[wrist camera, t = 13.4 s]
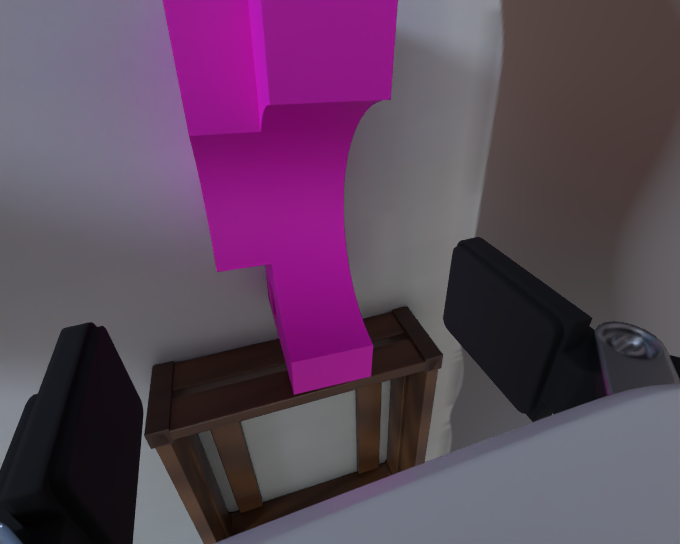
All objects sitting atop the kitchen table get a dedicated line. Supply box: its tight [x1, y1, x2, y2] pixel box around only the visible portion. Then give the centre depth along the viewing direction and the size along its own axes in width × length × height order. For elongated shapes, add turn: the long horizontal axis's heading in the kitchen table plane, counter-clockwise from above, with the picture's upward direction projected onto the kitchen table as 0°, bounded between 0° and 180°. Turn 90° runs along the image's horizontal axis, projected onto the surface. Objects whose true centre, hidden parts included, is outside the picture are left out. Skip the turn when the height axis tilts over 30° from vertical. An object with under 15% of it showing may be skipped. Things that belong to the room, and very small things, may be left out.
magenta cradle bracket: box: [163, 0, 398, 395], centre depth 17 cm, size 15×6×8 cm, turn 179°
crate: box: [144, 307, 443, 544], centre depth 29 cm, size 20×17×5 cm
